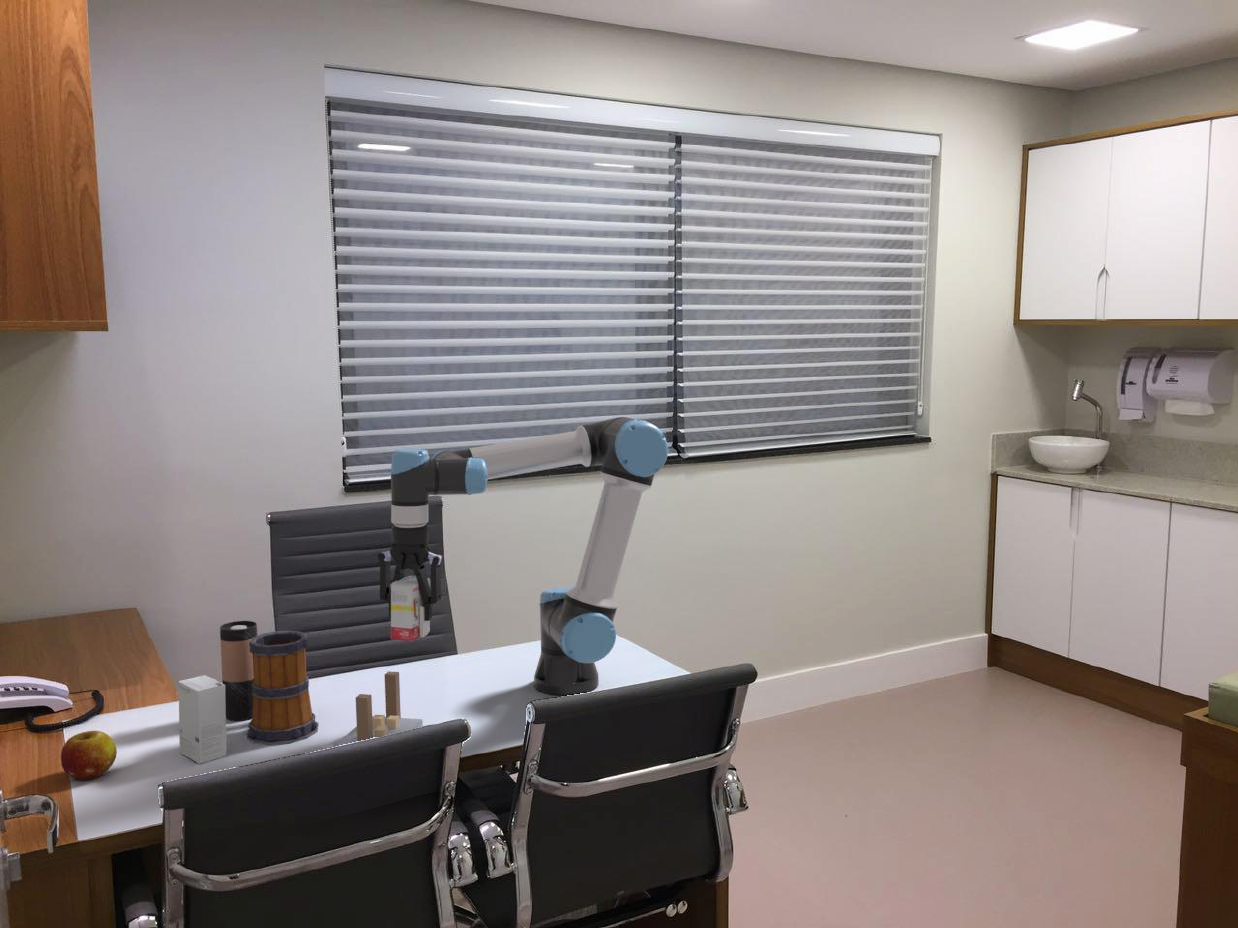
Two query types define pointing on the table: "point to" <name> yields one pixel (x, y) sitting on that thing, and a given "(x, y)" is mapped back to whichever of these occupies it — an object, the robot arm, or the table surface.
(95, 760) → the fruit
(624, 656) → the table surface
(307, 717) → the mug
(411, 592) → the ink box
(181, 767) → the table surface
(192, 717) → the skincare box
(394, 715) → the peg cradle
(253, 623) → the travel mug
